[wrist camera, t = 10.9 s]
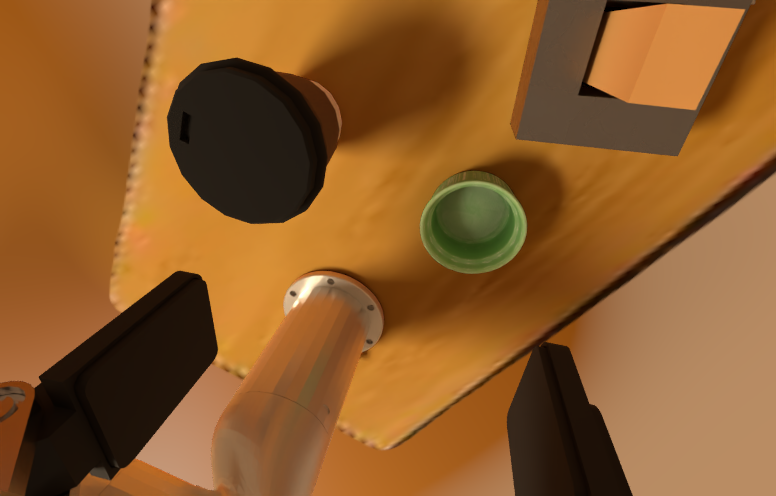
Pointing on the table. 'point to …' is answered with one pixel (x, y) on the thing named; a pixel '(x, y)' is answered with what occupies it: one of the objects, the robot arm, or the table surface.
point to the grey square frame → (589, 105)
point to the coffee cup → (253, 138)
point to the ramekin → (473, 223)
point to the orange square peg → (660, 53)
